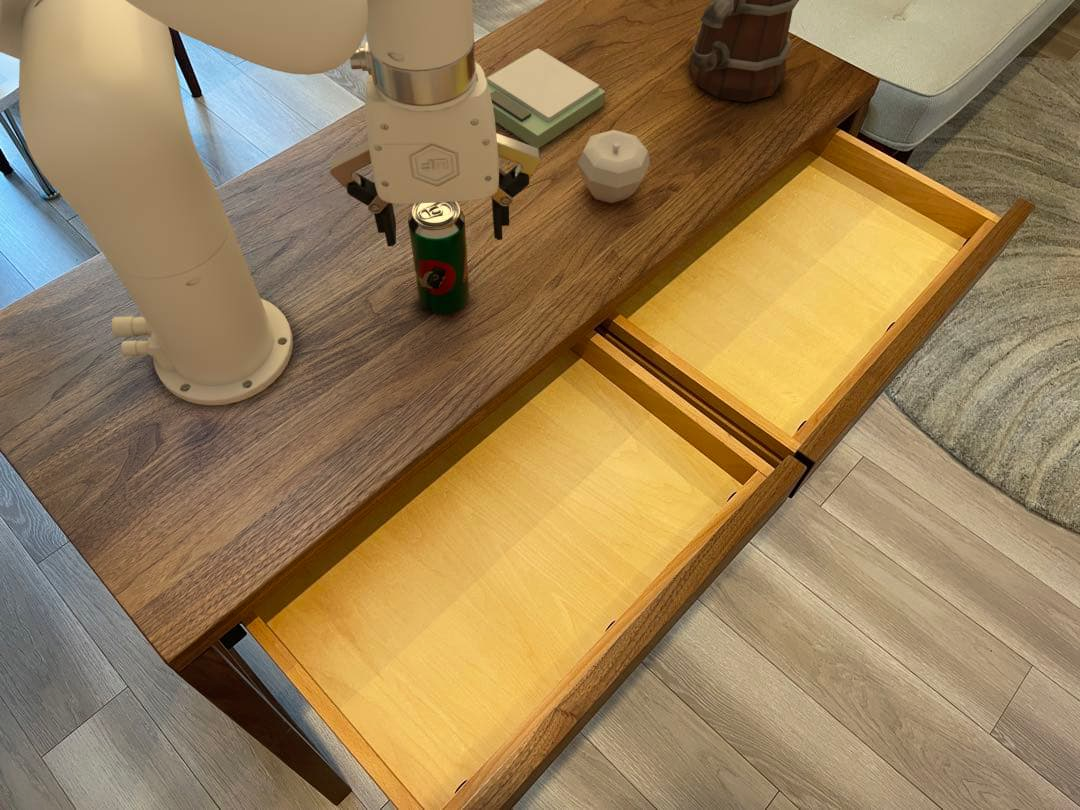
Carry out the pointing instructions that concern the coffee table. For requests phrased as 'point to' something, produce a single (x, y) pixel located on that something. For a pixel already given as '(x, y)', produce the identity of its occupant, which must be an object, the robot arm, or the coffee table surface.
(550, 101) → the scale
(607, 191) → the white apple
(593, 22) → the coffee table surface
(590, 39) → the coffee table surface
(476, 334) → the coffee table surface
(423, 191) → the robot arm
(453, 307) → the soda can
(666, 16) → the coffee table surface
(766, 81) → the mug
